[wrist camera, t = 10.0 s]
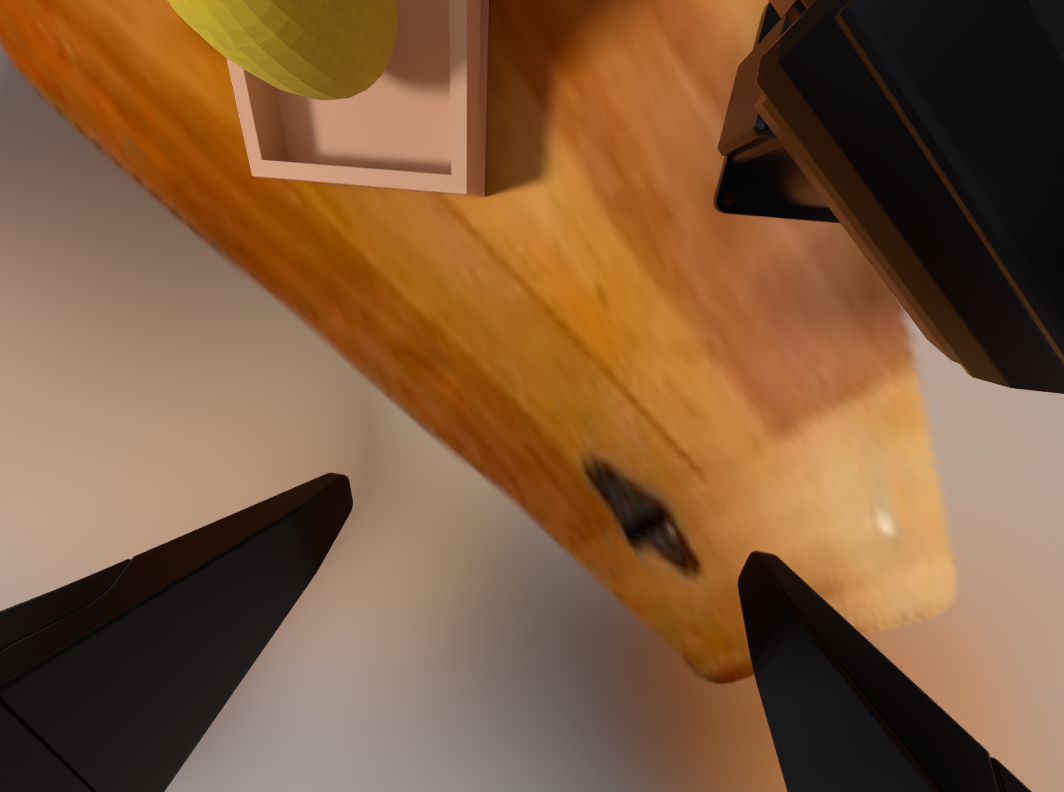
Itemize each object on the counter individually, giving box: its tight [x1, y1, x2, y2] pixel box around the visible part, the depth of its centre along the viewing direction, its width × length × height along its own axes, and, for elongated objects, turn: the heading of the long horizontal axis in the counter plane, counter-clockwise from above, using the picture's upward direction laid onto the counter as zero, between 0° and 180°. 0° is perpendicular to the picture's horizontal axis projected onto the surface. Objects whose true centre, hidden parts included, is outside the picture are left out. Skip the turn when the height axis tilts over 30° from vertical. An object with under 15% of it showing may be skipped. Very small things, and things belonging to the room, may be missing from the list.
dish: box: [227, 0, 489, 197], centre depth 14 cm, size 9×10×2 cm
